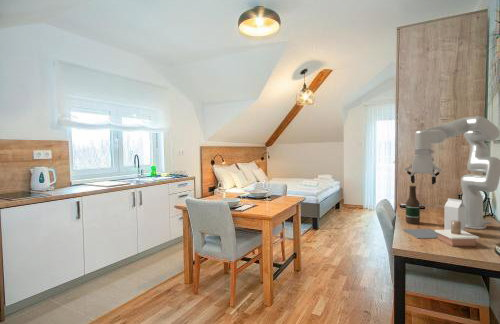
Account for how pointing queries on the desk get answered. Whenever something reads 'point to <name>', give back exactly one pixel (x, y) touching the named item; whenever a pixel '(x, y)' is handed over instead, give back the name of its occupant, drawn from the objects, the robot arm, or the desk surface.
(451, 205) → the milk carton
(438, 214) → the desk surface
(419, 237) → the mat
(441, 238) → the terracotta square tray
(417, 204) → the beer bottle
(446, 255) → the desk surface
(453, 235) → the cover
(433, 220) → the desk surface
